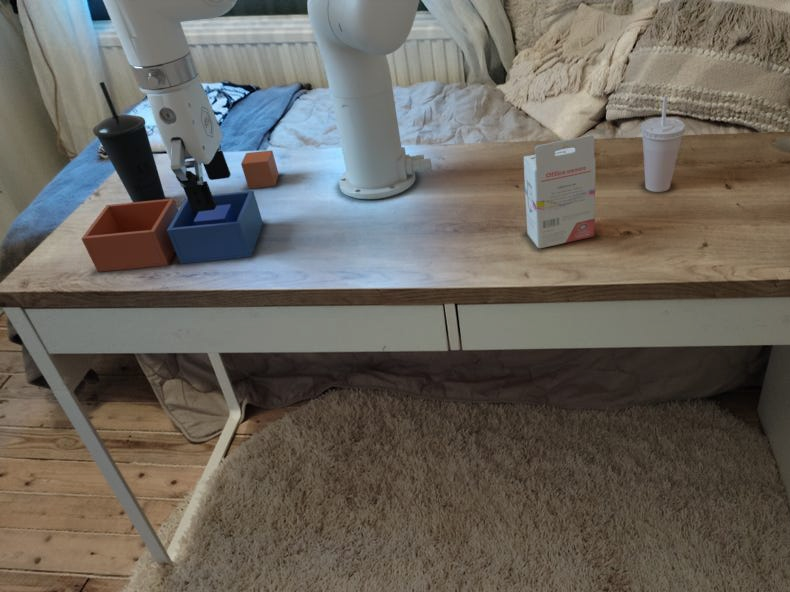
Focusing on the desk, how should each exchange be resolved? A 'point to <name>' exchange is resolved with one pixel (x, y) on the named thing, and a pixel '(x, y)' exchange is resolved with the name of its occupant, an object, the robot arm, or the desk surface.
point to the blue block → (216, 215)
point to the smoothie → (661, 149)
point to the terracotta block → (260, 169)
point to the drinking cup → (130, 153)
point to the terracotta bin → (131, 235)
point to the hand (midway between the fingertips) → (213, 193)
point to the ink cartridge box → (560, 191)
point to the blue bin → (217, 231)
